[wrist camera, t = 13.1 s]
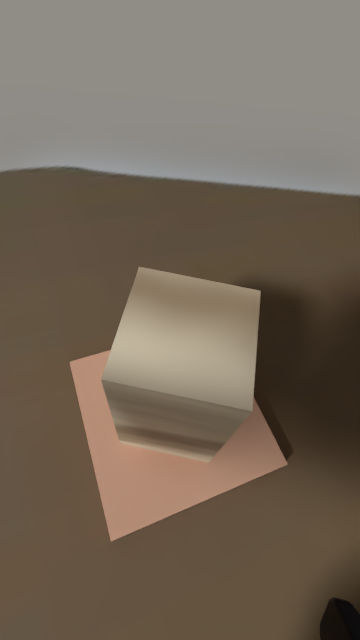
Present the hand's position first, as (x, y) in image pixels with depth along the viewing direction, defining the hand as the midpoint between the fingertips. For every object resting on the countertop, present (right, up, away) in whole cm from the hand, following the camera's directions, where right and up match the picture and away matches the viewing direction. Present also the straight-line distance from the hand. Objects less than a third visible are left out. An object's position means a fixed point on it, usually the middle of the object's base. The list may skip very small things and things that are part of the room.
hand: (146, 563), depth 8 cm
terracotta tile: (0, 0, +15) cm, 15 cm away
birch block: (0, 0, +14) cm, 14 cm away
